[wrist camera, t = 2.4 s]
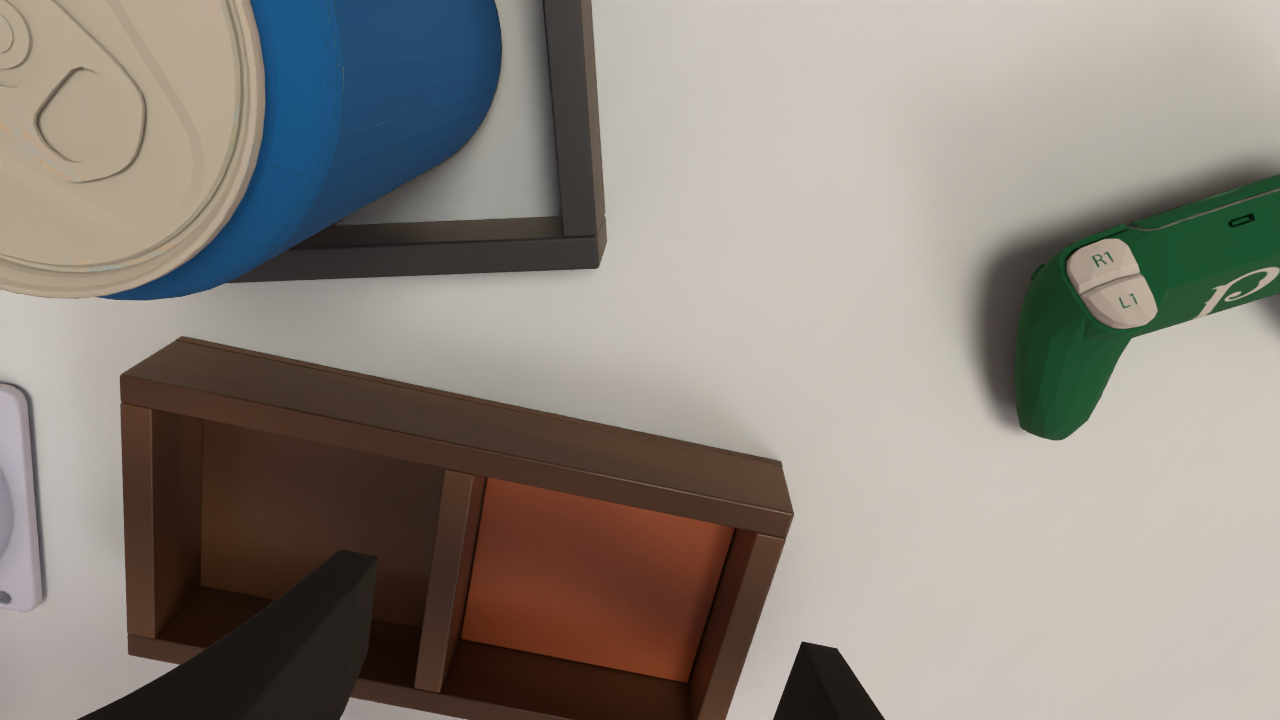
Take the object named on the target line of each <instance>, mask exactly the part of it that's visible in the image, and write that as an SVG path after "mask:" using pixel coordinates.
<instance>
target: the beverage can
mask: <svg viewBox="0 0 1280 720" xmlns="http://www.w3.org/2000/svg"><path fill="white" fill-rule="evenodd" d="M501 54H502V45H501V29H500V23H499V17H498V11H497V8H496V4H495V1H494V0H0V289H2V290H6V291H10V292H14V293H18V294H25V295H31V296H38V297H45V298H74V299H78V298H87V297H100V298H106V299H114V300H154V299H163V298H173V297H182V296H186V295H190V294H194V293H198V292H202V291H206V290H209V289H212V288H214V287H217V286H219V285H222V284H224V283H227V282H229V281H231V280H234V279H236V278H238V277H240V276H242V275H243V274H245V273H247V272H249V271H250V270H252V269H254V268H256V267H257V266H259V265H261V264H263V263H265V262H266V261H268V260H270V259H272V258H273V257H275V256H277V255H279V254H281V253H282V252H284V251H286V250H288V249H289V248H291V247H293V246H295V245H296V244H298V243H300V242H302V241H304V240H305V239H307V238H309V237H311V236H312V235H314V234H316V233H318V232H319V231H321V230H323V229H325V228H327V227H328V226H330V225H332V224H334V223H335V222H337V221H339V220H341V219H343V218H344V217H346V216H348V215H350V214H351V213H353V212H355V211H357V210H358V209H360V208H362V207H364V206H366V205H367V204H369V203H371V202H373V201H374V200H376V199H378V198H380V197H382V196H383V195H385V194H387V193H389V192H390V191H392V190H394V189H396V188H397V187H399V186H401V185H403V184H405V183H406V182H408V181H410V180H412V179H413V178H415V177H417V176H419V175H421V174H422V173H424V172H426V171H428V170H429V169H431V168H433V167H435V166H436V165H438V164H440V163H441V162H443V161H445V160H446V159H448V158H449V157H451V156H452V155H453V154H454V153H456V152H457V151H458V150H459V149H460V148H462V147H463V146H464V144H465V143H466V142H467V141H468V140H469V139H470V138H471V137H472V136H473V134H474V133H475V132H476V130H477V129H478V127H479V126H480V124H481V123H482V121H483V120H484V118H485V116H486V114H487V112H488V110H489V108H490V106H491V103H492V100H493V97H494V94H495V91H496V88H497V84H498V79H499V74H500V68H501Z"/></svg>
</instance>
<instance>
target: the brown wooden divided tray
mask: <svg viewBox="0 0 1280 720" xmlns="http://www.w3.org/2000/svg"><path fill="white" fill-rule="evenodd" d="M120 395H121V402H122V403H121V438H122V471H123V504H124V538H125V571H126V604H127V633H128V654H129V655H132V656H137V657H143V658H148V659H153V660H158V661H164V662H169V663H174V664H179V665H181V664H183V663H184V662H186V661H187V660H189V659H191V658H192V657H194V656H195V655H197V654H198V653H200V652H201V651H203V650H205V649H206V648H208V647H209V646H211V645H212V644H214V643H215V642H217V641H218V640H220V639H221V638H223V637H224V636H226V635H227V634H229V633H230V632H232V631H233V630H235V629H236V628H238V627H239V626H241V625H242V624H243V623H245V622H246V621H248V620H249V619H250V618H252V617H253V616H254V615H256V614H257V613H259V612H260V611H261V610H263V609H264V608H265V607H267V606H268V605H269V604H271V603H272V602H274V601H275V600H276V599H278V598H279V597H280V596H282V595H283V594H284V593H285V592H287V591H288V590H289V589H291V588H292V587H293V586H295V585H296V584H297V583H298V582H300V581H301V580H302V579H303V578H305V577H306V576H307V575H309V574H310V573H311V572H312V571H313V570H315V569H316V568H317V567H318V566H320V565H321V564H322V563H323V562H325V561H326V560H327V559H328V558H330V557H331V556H332V555H333V554H335V553H336V552H338V551H340V550H341V549H343V550H348V551H353V552H358V553H363V554H368V555H373V556H378V565H377V574H376V583H375V591H374V600H373V609H372V618H371V626H370V635H369V644H368V652H367V655H366V658H365V660H364V663H363V665H362V668H361V670H360V673H359V676H358V678H357V681H356V683H355V686H354V688H353V690H352V693H351V695H350V697H352V698H357V699H363V700H368V701H373V702H378V703H384V704H389V705H394V706H399V707H405V708H410V709H415V710H420V711H426V712H431V713H436V714H441V715H447V716H452V717H457V718H462V719H468V720H725V719H726V716H727V713H728V710H729V707H730V704H731V701H732V698H733V695H734V692H735V689H736V686H737V684H738V681H739V678H740V675H741V672H742V669H743V666H744V663H745V660H746V657H747V654H748V651H749V648H750V645H751V642H752V639H753V636H754V633H755V630H756V627H757V624H758V621H759V618H760V615H761V612H762V609H763V606H764V603H765V600H766V597H767V594H768V591H769V588H770V585H771V582H772V579H773V576H774V573H775V571H776V568H777V565H778V562H779V559H780V556H781V553H782V550H783V547H784V544H785V541H786V537H787V534H788V531H789V528H790V525H791V522H792V519H793V516H794V512H793V508H792V504H791V500H790V496H789V492H788V488H787V484H786V480H785V476H784V472H783V469H782V463H781V462H780V461H776V460H771V459H766V458H761V457H757V456H752V455H747V454H742V453H738V452H733V451H728V450H723V449H718V448H714V447H709V446H704V445H699V444H694V443H690V442H685V441H680V440H675V439H671V438H666V437H661V436H656V435H651V434H647V433H642V432H637V431H632V430H628V429H623V428H618V427H613V426H608V425H604V424H599V423H594V422H589V421H584V420H580V419H575V418H570V417H565V416H561V415H556V414H551V413H546V412H541V411H537V410H532V409H527V408H522V407H518V406H513V405H508V404H503V403H498V402H494V401H489V400H484V399H479V398H474V397H470V396H465V395H460V394H455V393H451V392H446V391H441V390H436V389H431V388H427V387H422V386H417V385H412V384H408V383H403V382H398V381H393V380H388V379H384V378H379V377H374V376H369V375H364V374H360V373H355V372H350V371H345V370H341V369H336V368H331V367H326V366H321V365H317V364H312V363H307V362H302V361H298V360H293V359H288V358H283V357H278V356H274V355H269V354H264V353H259V352H254V351H250V350H245V349H240V348H235V347H231V346H226V345H221V344H216V343H211V342H207V341H202V340H197V339H192V338H188V337H183V336H181V337H179V338H178V339H176V341H174V342H172V343H171V344H169V345H167V346H166V347H164V348H163V349H161V350H159V351H158V352H156V353H155V354H153V355H151V356H150V357H148V358H147V359H145V360H143V361H142V362H140V363H138V364H137V365H135V366H134V367H132V368H130V369H129V370H127V371H126V372H124V373H122V374H121V375H120Z"/></svg>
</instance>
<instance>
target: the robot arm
mask: <svg viewBox="0 0 1280 720" xmlns="http://www.w3.org/2000/svg"><path fill="white" fill-rule="evenodd" d="M377 565H378V556H373V555H368V554H363V553H358V552H353V551H348V550H343V549H341V550H340V551H338V552H336V553H335V554H333V555H332V556H331V557H330V558H328V559H327V560H326V561H325V562H323V563H322V564H321V565H320V566H318V567H317V568H316V569H315V570H313V571H312V572H311V573H310V574H309V575H307V576H306V577H305V578H303V579H302V580H301V581H300V582H298V583H297V584H296V585H295V586H293V587H292V588H291V589H289V590H288V591H287V592H285V593H284V594H283V595H282V596H280V597H279V598H278V599H276V600H275V601H274V602H272V603H271V604H269V605H268V606H267V607H265V608H264V609H263V610H261V611H260V612H259V613H257V614H256V615H254V616H253V617H252V618H250V619H249V620H248V621H246V622H245V623H243V624H242V625H241V626H239V627H238V628H236V629H235V630H233V631H232V632H230V633H229V634H227V635H226V636H224V637H223V638H221V639H220V640H218V641H217V642H215V643H214V644H212V645H211V646H209V647H208V648H206V649H205V650H203V651H201V652H200V653H198V654H197V655H195V656H194V657H192V658H191V659H189V660H187V661H186V662H184V663H183V664H181V665H179V666H178V667H176V668H174V669H173V670H171V671H169V672H168V673H166V674H164V675H162V676H161V677H159V678H157V679H155V680H154V681H152V682H150V683H148V684H146V685H145V686H143V687H141V688H139V689H137V690H136V691H134V692H132V693H130V694H128V695H126V696H125V697H123V698H121V699H119V700H117V701H115V702H113V703H111V704H109V705H107V706H104V707H102V708H100V709H98V710H96V711H94V712H92V713H90V714H88V715H86V716H83V717H81V718H79V719H77V720H339V719H340V717H341V716H342V714H343V712H344V710H345V707H346V705H347V702H348V700H349V698H350V695H351V693H352V690H353V688H354V686H355V683H356V681H357V678H358V676H359V673H360V670H361V668H362V665H363V663H364V660H365V658H366V655H367V652H368V644H369V635H370V626H371V618H372V609H373V600H374V591H375V583H376V574H377ZM6 592H7V593H8V594H7V593H6ZM41 601H42V584H41V571H40V558H39V545H38V533H37V520H36V507H35V494H34V481H33V469H32V456H31V443H30V430H29V417H28V405H27V401H26V398H25V396H24V395H23V393H22V392H21V391H19V390H18V389H17V388H15V387H13V386H10V385H7V384H2V383H0V608H3V609H8V610H13V611H19V612H29V611H32V610H33V609H34V608H35V607H36V606H37V605H38V604H39V603H40V602H41ZM773 720H885V719H884V717H883V716H882V715H881V713H880V712H879V710H878V709H877V707H876V706H875V704H874V703H873V701H872V700H871V698H870V697H869V695H868V694H867V692H866V691H865V689H864V688H863V686H862V685H861V683H860V682H859V680H858V679H857V677H856V676H855V674H854V673H853V671H852V670H851V668H850V667H849V665H848V664H847V662H846V661H845V659H844V658H843V657H842V655H841V654H840V652H839V651H838V649H837V648H832V647H827V646H822V645H817V644H812V643H807V642H802V643H801V645H800V648H799V651H798V653H797V656H796V659H795V662H794V664H793V667H792V670H791V672H790V675H789V678H788V681H787V683H786V686H785V689H784V691H783V694H782V697H781V700H780V702H779V705H778V708H777V710H776V713H775V716H774V719H773Z"/></svg>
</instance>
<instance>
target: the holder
mask: <svg viewBox="0 0 1280 720" xmlns="http://www.w3.org/2000/svg"><path fill="white" fill-rule="evenodd" d="M543 8H544V20H545V31H546V43H547V54H548V66H549V78H550V89H551V101H552V112H553V124H554V136H555V147H556V159H557V170H558V182H559V194H560V205H561V216H558V217H534V218H510V219H487V220H463V221H440V222H416V223H392V224H369V225H345V226H328V227H327V228H325V229H323V230H321V231H319V232H318V233H316V234H314V235H312V236H311V237H309V238H307V239H305V240H304V241H302V242H300V243H298V244H296V245H295V246H293V247H291V248H289V249H288V250H286V251H284V252H282V253H281V254H279V255H277V256H275V257H273V258H272V259H270V260H268V261H266V262H265V263H263V264H261V265H259V266H257V267H256V268H254V269H252V270H250V271H249V272H247V273H245V274H243V275H242V276H240V277H238V278H236V279H234V280H231V281H229V282H227V283H240V282H265V281H291V280H317V279H342V278H368V277H394V276H420V275H445V274H471V273H497V272H522V271H548V270H574V269H596V268H599V265H600V262H601V259H602V256H603V252H604V249H605V246H606V243H607V234H606V219H605V216H604V214H605V202H604V187H603V172H602V157H601V142H600V127H599V112H598V96H597V81H596V66H595V51H594V36H593V21H592V6H591V0H543Z"/></svg>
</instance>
